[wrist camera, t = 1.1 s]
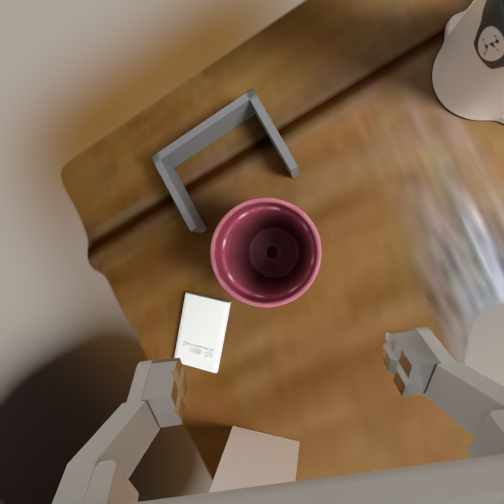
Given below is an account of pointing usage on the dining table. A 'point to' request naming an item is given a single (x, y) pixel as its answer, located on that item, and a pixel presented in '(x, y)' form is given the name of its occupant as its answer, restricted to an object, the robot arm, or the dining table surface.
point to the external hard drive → (202, 331)
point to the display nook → (204, 137)
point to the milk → (255, 460)
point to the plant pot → (254, 252)
